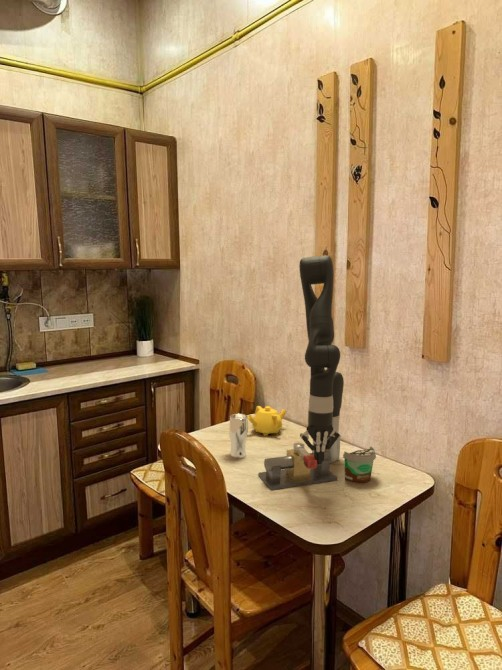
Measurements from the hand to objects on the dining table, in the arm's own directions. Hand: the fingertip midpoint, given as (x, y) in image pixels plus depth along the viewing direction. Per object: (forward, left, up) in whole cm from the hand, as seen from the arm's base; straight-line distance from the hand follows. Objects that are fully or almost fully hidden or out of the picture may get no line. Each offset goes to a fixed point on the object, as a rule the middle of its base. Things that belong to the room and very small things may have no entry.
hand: (318, 462), depth 146 cm
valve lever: (+3, -5, -1) cm, 6 cm away
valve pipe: (+2, -11, -10) cm, 14 cm away
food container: (-18, -3, -10) cm, 21 cm away
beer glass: (+15, -35, -10) cm, 39 cm away
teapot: (-5, -55, -10) cm, 56 cm away
